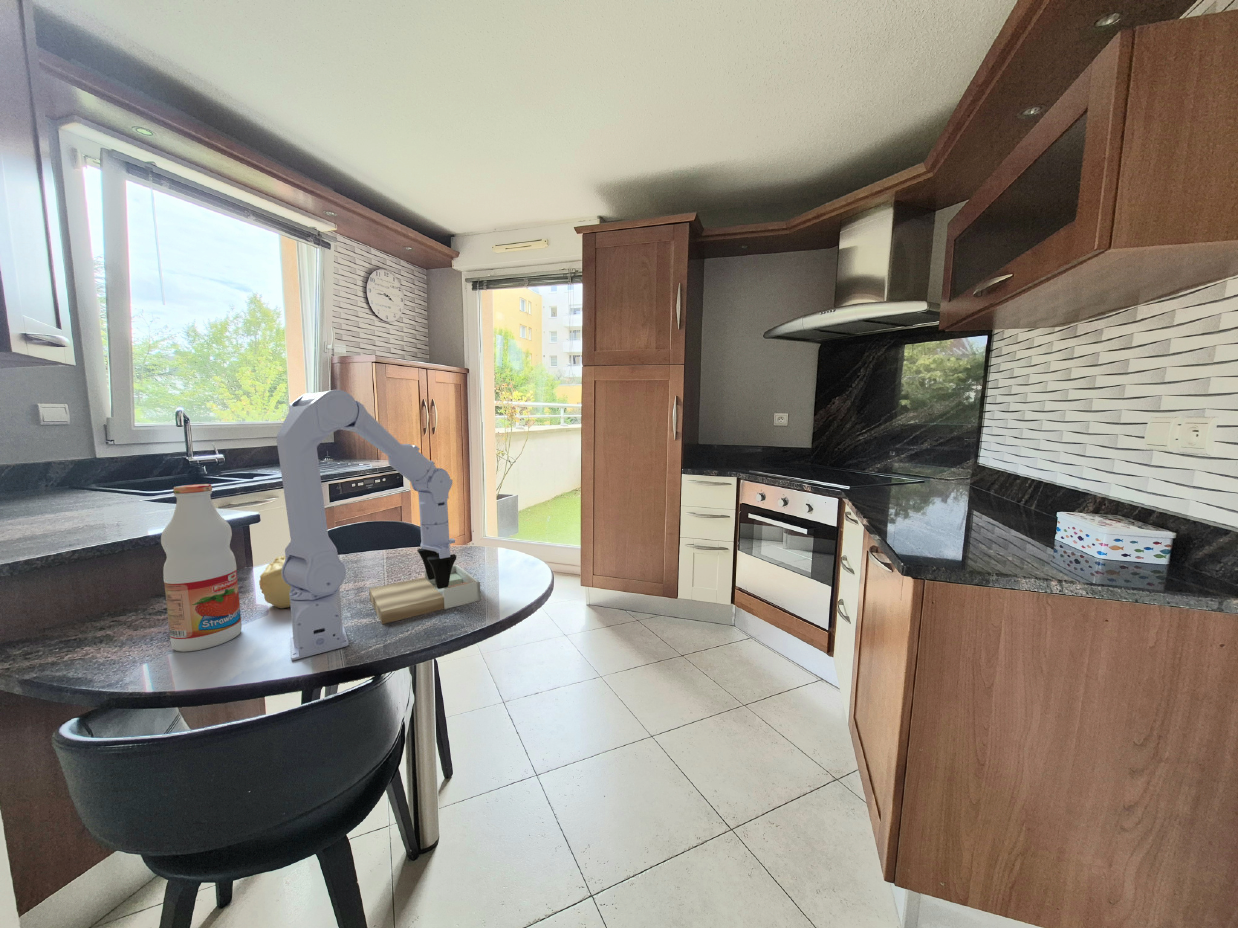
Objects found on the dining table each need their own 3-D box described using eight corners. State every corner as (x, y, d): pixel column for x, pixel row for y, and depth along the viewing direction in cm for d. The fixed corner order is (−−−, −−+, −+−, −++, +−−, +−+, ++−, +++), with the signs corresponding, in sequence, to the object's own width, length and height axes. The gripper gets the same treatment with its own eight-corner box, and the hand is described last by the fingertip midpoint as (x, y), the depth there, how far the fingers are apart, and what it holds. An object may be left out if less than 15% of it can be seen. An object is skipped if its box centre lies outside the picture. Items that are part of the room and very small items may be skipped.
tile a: (455, 592, 94) (455, 601, 95) (473, 587, 97) (474, 596, 97) (448, 586, 98) (448, 594, 99) (466, 581, 101) (466, 590, 101)
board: (444, 608, 92) (443, 596, 92) (381, 624, 85) (381, 611, 85) (425, 587, 105) (424, 577, 105) (369, 599, 98) (369, 588, 98)
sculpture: (270, 598, 100) (265, 551, 99) (332, 589, 105) (329, 544, 104) (253, 617, 90) (248, 565, 89) (324, 606, 95) (320, 556, 94)
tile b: (444, 582, 101) (444, 590, 101) (462, 578, 103) (462, 586, 104) (438, 576, 105) (438, 584, 105) (455, 572, 107) (456, 581, 108)
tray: (480, 600, 96) (479, 581, 96) (444, 609, 92) (443, 590, 91) (457, 580, 109) (456, 564, 109) (425, 587, 105) (424, 570, 105)
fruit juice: (199, 630, 84) (184, 483, 82) (254, 626, 86) (241, 481, 83) (155, 655, 75) (137, 490, 73) (217, 650, 76) (201, 487, 74)
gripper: (463, 524, 94) (466, 587, 95) (444, 515, 106) (447, 571, 107) (428, 530, 90) (431, 595, 91) (412, 519, 102) (415, 577, 103)
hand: (438, 582), depth 99 cm, fingers open, 7 cm apart
